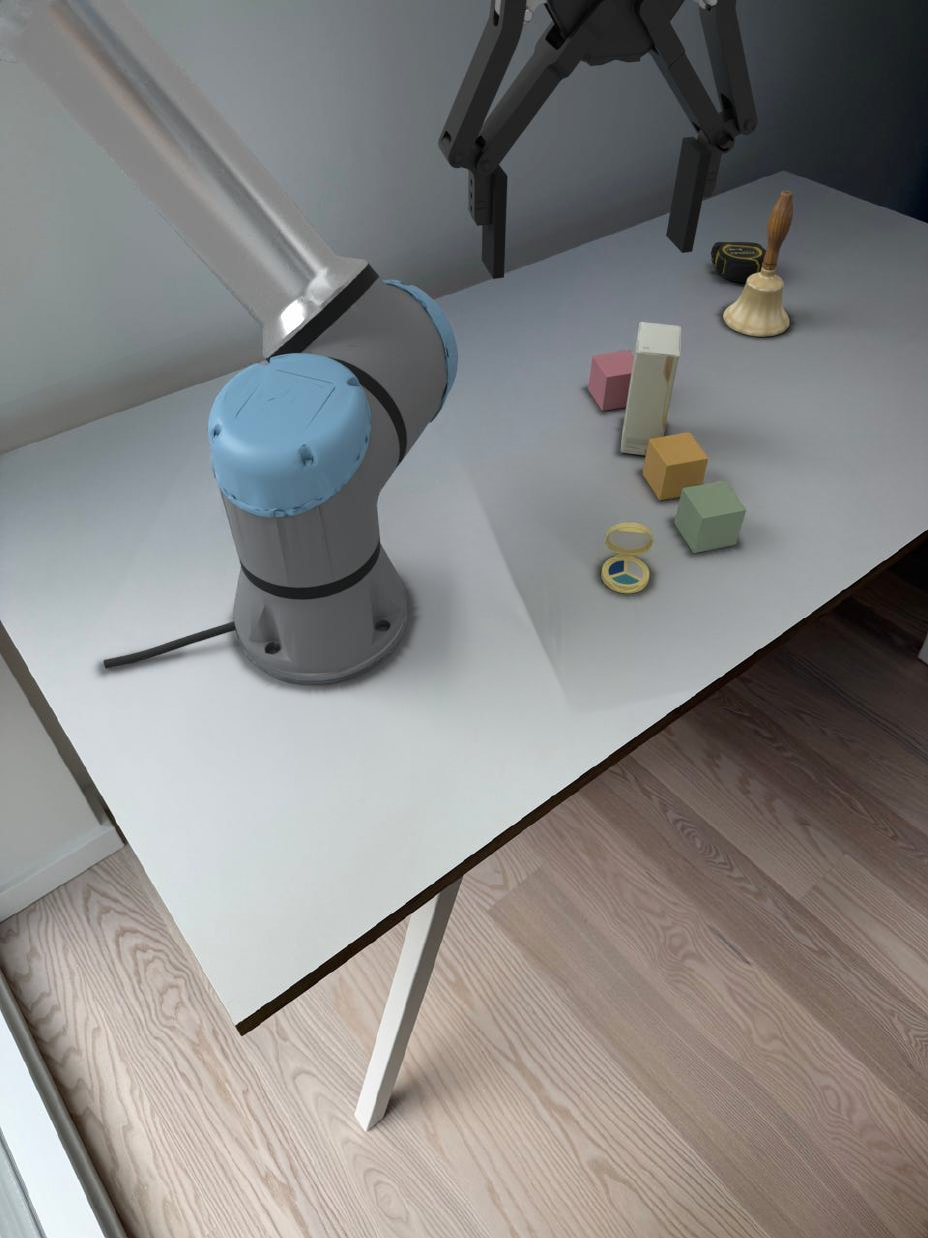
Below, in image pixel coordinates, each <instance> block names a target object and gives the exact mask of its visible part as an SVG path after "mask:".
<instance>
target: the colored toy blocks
mask: <svg viewBox="0 0 928 1238" xmlns="http://www.w3.org/2000/svg"><path fill="white" fill-rule="evenodd" d="M633 361H634V354H633V353H632V352H631V350H630V349H626V350H621V351H614V352H613V351H612V352H607V353H601V354H600V353H599V354H593V355H592V356H591V363H590V371H589V378H588V381H589V382H588V386H587V387H588V388H587V390H588V392H589V393H590V395H591V396H592V398H593V400H594V401H595V402H596V404H597V405H598V407H599V408H600V410H601V412H606V411H611V410H617V409H623V408H626V405H627V399H628V392H629V386H630V380H631V373H632V367H633ZM643 462H644V463H643V468H642V475H643V477H644V478H645V480H646V482H647V484H648V485H649V486H650V488H651V489H652V491H653V492H654V494H655V496H656V497H657V499H658V500H659V501H666V500H670V499H675V498H679V502H678V506H677V510H676V513H675V516H674V517H675V518H674V522H673V524H674V525H675V527H676V529H677V530H678V532H679V533H680V535H681V536H682V538H683V539H684V541H685V542H686V544H687V545H688V547H689V549H690V550H691V552H692V553H693V554H697V553H702V552H706V551H708V552H709V551H713V550H717V549H722V548H727V547H732V546H735V545H737V542H738V539H739V536H740V533H741V530H742V527H743V523H744V520H745V518H746V517H745V516H746V513H747V508H746V507H745V506H744V503H742V501H741V500H740V499H739V497H738V496H737V494H736V493H735V492H734V490H733V489H732V488H731V487H730V485H729V484H728V482H727V481H726V480H724V479H723V480H719V481H713V482H709V483H704V484H703V482H704V479H705V473H706V470H707V466H708V462H709V456H708V455H707V454H706V453H705V451H704V450H703V448H701V446H700V444H699V443H698V441H697V440H696V439H695V437H694V436H693V435H692V434H691V432H690V431H687V432H682V433H675V434H670V435H664V437H658V438H652V439H649V441H648V447H647V452H646V455H645V457H644V461H643Z"/></svg>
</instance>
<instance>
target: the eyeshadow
mask: <svg viewBox="0 0 928 1238" xmlns="http://www.w3.org/2000/svg"><path fill="white" fill-rule="evenodd" d="M653 537H654V535H653V532H652V531H651V529H649V527H648V526H645V525H643V524H641V523H637V522H630V521H629V522H621V523H618V524H615V525H612V526H611V527H610V528H609V529H608V530H607V532H606V536H605V541H604V543H605V545H606V547H607V549H608V550H609V551H611V552H612V553H614V554H617V555H615V556H612V557H609V558H608V559H606V560H605V562H603V565H602V567H601V576H600V577H601V580H602V582H603V584H604V585H605V586H606V587H607V588H609V589H610V590H612V591H614V592H617V593H621V594H635V593H638V592H640V591H641V592H642V590H644V589H645V588H646V586H647V585H648V584H649V581H650V575H651V574H650V569H649V567H648V566H647V564H646V563H645V562H644V561H643V560H641V559H640V558H638V557H635V556H640V555H643V554H645V553H647V552H648V551H650V550H651V549H652V548H653V546H654V538H653Z"/></svg>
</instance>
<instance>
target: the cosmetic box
mask: <svg viewBox="0 0 928 1238" xmlns="http://www.w3.org/2000/svg"><path fill="white" fill-rule="evenodd" d="M636 336H637V337H636V342H635V349H634V354H633V356H634V361H633V367H632V373H631V380H630V386H629V392H628V399H627V405H626V407H625V413H624V417H623V425H622V432H621V440H620V452H621V453H623V454H631V455H640V456H646V452H647V447H648V441H649V439H652V438H658V437H664V436H665V431H666V427H667V426H666V425H667V420H668V415H669V412H670V405H671V401H672V394H673V390H674V384H675V379H676V374H677V369H678V366H679V359H680V356H681V349H682V326H681V325H673V324H663V323H657V322H655V323H654V322H646V321H640V322H639V324H638V330H637V335H636Z"/></svg>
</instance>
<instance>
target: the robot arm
mask: <svg viewBox="0 0 928 1238" xmlns="http://www.w3.org/2000/svg"><path fill="white" fill-rule="evenodd" d="M685 1H686V0H490V6H489V7H490V8H489V15H488V16H489V17H488V19H487V21H486V23H485V26H484V29H483V31H482V33H481V36H480V38H479V40H478V43H477V45H476V47H475V50H474V53H473V55H472V58H471V60H470V62H469V64H468V67H467V69H466V72H465V75H464V77H463V79H462V81H461V84H460V87H459V89H458V91H457V94H456V96H455V98H454V101H453V103H452V106H451V108H450V111H449V114H448V116H447V118H446V121H445V123H444V126H443V127H442V130H441V132H440V135H439V138H438V141H437V145H438V149H439V150H440V152H441V154H442V155H443V156H444V158H445V159H446V161H447V162H448V165H450V167H452V168H453V169H461V168H462V169H466V170H467V171H468V172H467V173H468V177H467V179H468V183H467V185H468V189H467V191H468V194H467V195H468V196H467V197H468V198H467V199H468V201H467V203H468V205H467V207H468V212H469V215H470V216H471V218H472V221H473V222H474V223H475V225H476V226H477V227H480V226H481V261H482V263H483V265H484V266H485V268H486V270H487V271H488V273H489V274H490V276H491V278H492V279H493V280H496V279H503V278H505V262H506V234H507V233H506V232H507V231H506V230H507V206H508V205H507V203H508V178H509V177H508V176H509V175H508V174H507V173H506V172H505V170H504V169H503V168H502V166H501V165H500V164H501V163H502V161H503V160H504V158H505V157H507V154H508V153H509V152H510V150H511V149H512V148H513V146H514V145H515V144H516V142H517V141H518V140H519V138H520V137H521V135H522V134H523V133H524V131H525V130H526V128H527V127H528V126H529V125H530V123H531V122H532V121H533V119H535V116H536V115H537V114H538V113H539V111H540V110H541V108H542V107H543V106H544V105H545V103H546V102H547V100H548V99H549V98H550V96H551V95H552V93H553V92H554V91H555V89H556V88H557V86H558V85H560V83H561V81H563V80H564V79H566V78H569V77H570V76H571V74H572V73H573V72H574V71H575V69H576V68H577V67H578V65H579V64H580V63H581V62H583V63H585V64H587V65H588V66H589V67H595V66H604V65H606V64H609V63H612V62H614V61H620V62H623V63H628V64H629V63H638V62H641V58H642V57H644V56H646V54H647V55H648V54H649V55H650V57H651V59H652V60H653V61H654V63H655V65H656V66H657V68H658V70H659V71H660V74H661V75H662V77H663V78H664V80H665V82H666V83H667V85H668V87H669V89H670V90H671V92H672V93H673V95H674V97H675V98H676V100H677V102H678V104H679V105H680V107H681V109H682V110H683V112H684V114H685V115H686V117H687V119H688V121H689V122H690V124H691V125H692V127H693V129H694V131H695V132H696V134H697V138H696V137H694V136H687V137H682V141H681V146H680V152H679V157H678V164H677V169H676V174H675V175H676V176H675V182H674V186H673V187H674V188H673V193H672V199H671V203H670V204H671V205H670V210H669V216H668V222H667V229H666V233H665V236H666V237H667V239H669V240H670V242H671V243H672V244H673V245H674V246H675V247H676V248H677V249H678V251H680V252H681V254H685V253H686V254H687V253H693V250H694V245H695V240H696V235H697V230H698V224H699V220H700V214H701V209H702V205H703V204H702V203H703V199H704V198H707V197H712V195H713V193H714V191H715V190H716V185H717V181H718V180H717V179H718V175H719V171H720V167H721V162H722V161H721V160H722V155H723V154H728V153H729V152H731V151H732V150H733V148H734V146H735V145H736V137H738V136H741V135H743V136H749V135H751V134H752V133H754V131H755V130H756V129H757V127H758V124H759V123H758V122H759V121H758V120H759V119H758V114H757V109H756V105H755V99H754V94H753V89H752V85H751V79H750V75H749V69H748V64H747V60H746V55H745V49H744V44H743V39H742V34H741V29H740V24H739V19H738V14H737V8H736V7H737V0H692V2H693V4H694V5H696V6H698V13H699V18H700V24H701V28H702V33H703V37H704V40H705V41H704V42H705V46H706V49H707V54H708V58H709V62H710V67H711V72H712V76H713V79H714V84H715V88H716V89H715V90H716V92H717V93H716V94H717V98H718V102H719V106H720V110H721V111H720V112H719V111H718V110H717V107H716V106H715V104H714V102H713V101H712V98H711V97H710V96H709V94H708V92H707V90H706V88H705V86H704V85H703V83H702V81H701V79H700V77H699V76H698V74H697V72H696V70H695V68H694V67H693V65H692V63H691V61H690V59H689V58H688V55H687V54H686V49H685V46H684V45H683V43H682V41H681V39H680V38H679V36H678V34H677V32H676V30H675V28H674V27H673V25H672V23H671V21H672V20H673V18H674V17H675V15H676V14H677V12H679V10H680V8H681V7H682V6H683V4H684V2H685ZM541 5H543V6H544V7H545V10H546V11H547V13H548V15H549V16H550V19H551V21H550V23H549V24H548V26H547V27H546V29H544V32H543V33H542V34H541V35H540V37H539V38H538V40H537V41H536V43H535V46H534V50H533V53H532V55H531V56H530V58H529V59H528V60H527V62H526V63H525V64H524V66H523V67H522V69H521V70H520V72H519V73H518V74H517V75H516V77H515V79H514V80H513V82H511V84H510V86H509V87H508V89H507V90H506V91H505V92H504V93H503V95H502V96H501V98H500V100H499V101H498V102H497V104H496V106H495V107H494V108H493V110H492V111H491V112H490V114H489V111H490V109H491V107H492V105H493V102H494V100H495V98H496V95H497V93H498V91H499V89H500V86H501V84H502V82H503V80H504V77H505V75H506V72H507V70H508V68H509V66H510V63H511V61H512V58H513V56H514V54H515V52H516V50H517V48H518V45H519V43H520V40H521V35H522V32H523V29H524V26H525V25H527V24H529V23H530V22H531V21H532V20H533V18H534V15H535V13H536V11H537V9H538V8H539V7H540V6H541ZM0 62H6V63H15V64H21V65H23V66H25V67H26V68H27V70H29V71H30V73H31V74H32V75H33V76H34V77H35V78H36V79H37V81H38V82H39V83H40V84H41V85H42V86H43V87H44V88H45V89H46V91H48V93H49V94H50V96H52V97H53V98H54V99H55V100H56V101H57V102H58V104H59V105H60V106H61V107H62V108H63V109H64V111H65V112H66V113H67V114H68V115H69V116H70V117H71V119H72V120H73V121H74V122H76V124H77V125H78V126H79V127H80V128H81V129H82V130H83V132H84V133H85V134H86V135H87V136H88V137H89V139H91V140H92V141H93V142H94V144H95V145H96V146H97V147H98V148H99V149H100V150H101V152H103V154H104V155H105V156H106V157H107V158H108V159H109V160H110V161H111V162H112V163H113V165H114V166H115V167H116V168H117V169H118V170H119V171H120V173H121V174H122V175H123V176H124V177H125V178H126V179H127V180H128V182H129V183H131V185H132V186H134V188H135V190H137V191H138V192H139V194H141V196H142V197H143V198H144V199H145V200H146V202H148V204H149V205H150V206H151V207H152V208H153V209H154V210H155V211H156V213H158V214H159V216H160V217H161V218H162V219H163V220H164V221H165V222H166V223H167V225H169V227H170V228H171V229H172V230H173V231H174V232H175V233H176V235H177V236H178V237H179V238H180V239H181V240H182V241H183V242H184V243H185V245H187V247H188V248H189V249H190V250H191V251H192V252H193V253H194V254H195V256H196V257H197V258H198V259H199V260H200V261H201V262H202V264H204V266H205V267H206V268H207V269H208V270H209V271H210V272H211V273H212V274H213V276H214V277H215V278H216V279H217V280H218V281H219V282H220V283H221V284H222V286H223V287H224V288H225V289H226V290H227V291H228V292H229V293H230V294H231V296H232V297H233V298H234V299H235V300H236V301H237V302H238V303H239V304H240V306H241V307H242V308H243V309H244V310H245V311H246V312H247V314H248V315H249V316H250V317H251V318H252V319H253V320H254V321H255V322H256V323H257V324H258V325H259V327H260V330H261V332H262V357H263V358H264V360H266V362H268V363H266V364H261V363H259V362H256V363H253V364H251V365H249V366H247V367H246V368H243V370H241V371H240V372H238V373H237V374H236V375H234V376H233V377H232V378H231V379H230V380H229V381H228V382H227V383H226V384H225V385H224V386H223V387H222V389H220V390H219V392H218V394H217V396H216V397H215V399H214V401H213V403H212V406H211V408H210V411H209V415H208V422H207V436H208V443H209V447H210V449H209V450H210V464H211V469H212V473H213V477H214V480H215V482H216V483H217V486H218V489H219V493H220V496H221V501H222V504H223V507H224V510H225V514H226V517H227V521H228V525H229V529H230V531H231V535H232V539H233V542H234V543H233V544H234V546H235V547H234V548H235V550H236V553H237V557H238V560H239V564H240V568H239V574H238V579H237V585H236V590H235V596H234V602H233V621H231V622H227V623H224V624H220V625H218V626H215V627H214V626H213V627H211V628H207V629H205V630H202V631H199V632H194V633H192V634H189V635H186V636H183V637H180V638H177V639H174V640H172V641H171V640H170V641H169V642H166V643H163V644H160V645H156V646H154V647H150V648H147V649H143V650H141V651H137V652H133V653H129V654H125V655H120V656H116V657H111V658H106V659H103V666H104V668H105V669H106V670H107V669H112V668H117V667H121V666H125V665H130V664H134V663H138V662H141V661H144V660H148V659H152V658H154V657H158V656H161V655H165V654H167V653H169V652H173V651H175V650H178V649H181V648H184V647H186V646H190V645H193V644H197V643H200V642H203V641H205V640H208V639H211V638H215V637H219V636H221V635H225V634H228V633H231V632H234V631H235V634H236V637H237V640H238V643H239V646H240V648H241V649H242V652H243V653H244V655H245V656H246V657H247V659H248V660H249V661H250V662H251V663H252V664H253V665H254V666H255V667H256V668H258V669H260V671H263V672H264V673H266V674H268V675H269V676H272V677H275V678H276V679H279V680H281V681H286V682H290V683H295V684H296V683H297V684H305V685H306V684H307V685H308V684H309V685H321V684H322V685H323V684H331V683H337V682H340V681H344V680H349V679H351V678H354V677H356V676H359V675H361V674H363V673H365V672H367V671H369V670H371V669H372V668H374V667H376V666H378V665H379V664H380V663H382V662H383V661H384V660H385V659H386V658H387V657H388V656H389V655H390V654H391V653H392V652H393V651H394V650H395V648H396V647H397V646H398V644H399V643H400V641H401V639H402V637H403V635H404V633H405V630H406V627H407V624H408V603H407V602H408V600H407V593H406V591H405V587H404V584H403V581H402V578H401V577H400V575H399V573H398V571H397V569H396V568H395V566H394V564H393V562H392V561H391V558H389V555H388V553H387V552H386V551H385V549H384V547H383V545H382V543H381V536H380V535H381V533H380V522H379V514H378V513H379V512H378V502H379V496H380V495H381V494H380V493H381V492H382V490H383V489H384V488H385V485H386V484H387V482H389V480H390V479H391V477H392V476H393V474H394V473H395V471H396V470H397V468H398V467H399V466H400V465H401V463H402V462H403V461H404V459H405V458H406V456H407V455H408V454H409V452H410V451H411V449H413V446H415V444H416V443H417V441H418V440H419V438H420V437H421V435H422V434H423V433H424V431H425V430H426V428H427V427H428V425H429V424H431V423H432V422H434V420H435V419H436V418H437V417H438V416H439V413H441V410H442V409H443V407H444V405H445V403H446V400H447V397H448V396H449V393H450V392H451V390H452V389H453V386H454V384H455V381H456V377H457V373H458V364H459V350H458V343H457V340H456V336H455V333H454V331H453V328H452V325H451V323H450V321H449V320H448V318H447V316H446V314H445V313H444V311H443V310H442V308H441V306H440V305H438V303H437V302H436V301H435V300H434V299H433V298H432V297H431V296H430V295H429V294H427V293H426V292H425V291H424V290H422V289H421V288H419V287H417V286H416V285H414V284H410V285H406V284H404V283H403V281H401V280H398V279H383V278H382V277H381V276H380V275H379V274H378V273H377V272H376V271H375V269H374V268H373V267H372V265H371V264H370V263H369V261H368V260H367V259H364V258H356V257H347V256H342V255H340V254H339V253H337V252H336V251H335V250H334V249H333V247H332V246H331V245H330V244H329V243H328V242H327V240H326V239H325V238H324V237H323V235H322V234H321V233H320V232H319V231H318V229H317V228H316V227H315V226H314V225H313V224H312V222H311V221H310V220H309V219H308V217H307V216H306V215H305V214H304V213H303V211H302V210H301V209H300V208H299V206H298V205H297V204H296V203H295V202H294V201H293V200H292V198H291V196H289V195H288V193H287V192H286V191H285V190H284V188H283V187H282V186H281V185H280V184H279V182H278V181H277V180H276V179H275V177H274V176H273V175H272V174H271V173H270V171H269V170H267V168H266V167H265V166H264V165H263V163H262V162H261V161H260V159H259V158H258V157H257V156H256V155H255V153H254V152H253V151H252V150H251V149H250V148H249V147H248V145H247V144H246V143H245V141H244V140H243V139H242V138H241V137H240V135H239V134H238V133H237V131H235V130H234V128H233V127H232V126H231V125H230V123H228V121H227V120H226V119H225V117H224V116H223V115H222V114H221V112H219V110H218V109H217V108H216V106H214V104H213V103H212V101H210V99H209V98H208V97H207V96H206V95H205V94H204V92H203V91H202V90H201V89H200V87H199V86H198V85H197V83H195V81H194V80H193V79H192V78H191V77H190V75H189V74H188V73H187V72H186V70H185V69H184V68H183V67H182V65H181V64H180V63H179V62H178V61H177V59H176V58H175V57H174V56H173V55H172V54H171V52H170V51H169V50H168V49H167V48H166V46H165V44H163V42H162V41H161V40H160V39H159V38H158V37H157V35H155V33H154V31H152V30H151V28H150V27H149V25H148V24H146V22H145V21H144V20H143V19H142V17H141V16H140V15H139V13H137V11H136V10H135V9H134V8H133V7H132V6H131V4H130V3H129V2H128V1H127V0H0ZM488 114H489V115H488ZM487 116H488V117H487Z"/></svg>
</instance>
